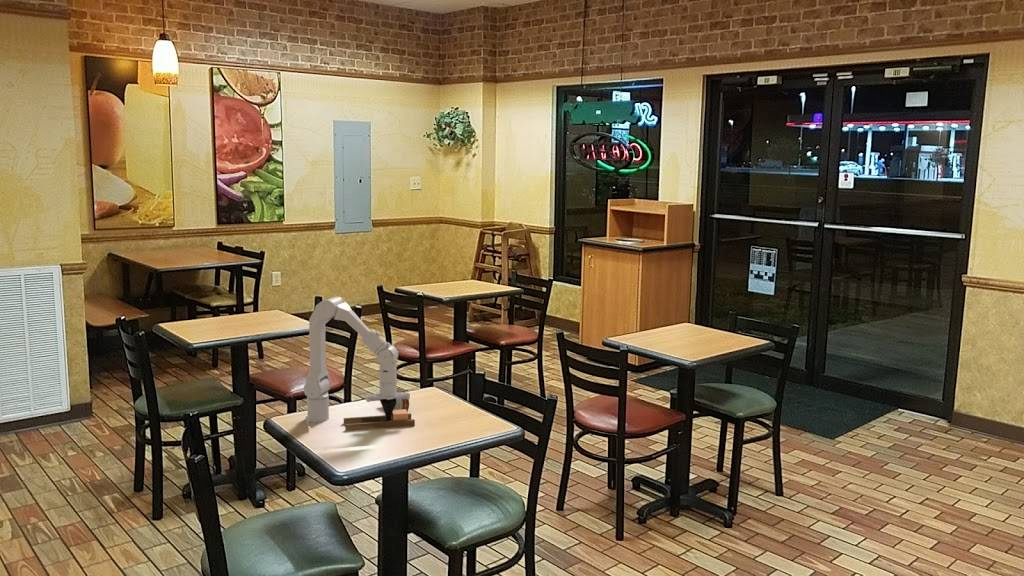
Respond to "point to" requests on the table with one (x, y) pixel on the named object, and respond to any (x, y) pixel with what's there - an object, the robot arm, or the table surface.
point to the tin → (402, 402)
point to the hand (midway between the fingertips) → (388, 420)
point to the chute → (375, 422)
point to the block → (399, 415)
